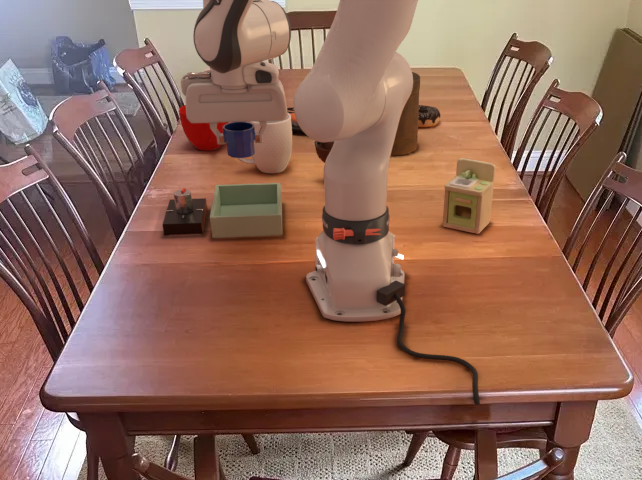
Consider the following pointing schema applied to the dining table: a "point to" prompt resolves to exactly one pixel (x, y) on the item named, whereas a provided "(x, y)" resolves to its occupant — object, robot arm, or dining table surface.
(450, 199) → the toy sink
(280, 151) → the mug
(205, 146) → the ceramic cup
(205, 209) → the black dial base
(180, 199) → the rotary knob
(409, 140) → the wooden container
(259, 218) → the basin
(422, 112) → the donut
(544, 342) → the dining table surface
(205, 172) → the dining table surface
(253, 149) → the blue cup
